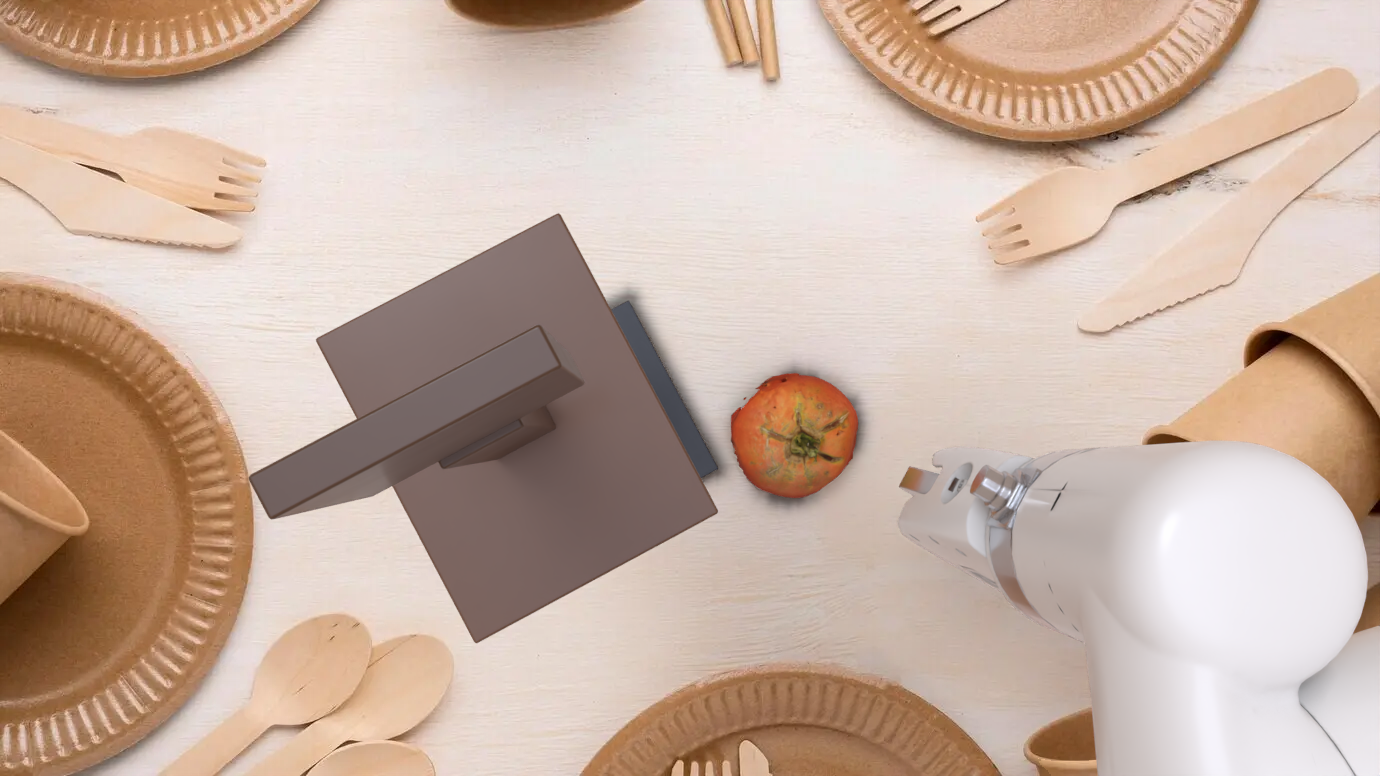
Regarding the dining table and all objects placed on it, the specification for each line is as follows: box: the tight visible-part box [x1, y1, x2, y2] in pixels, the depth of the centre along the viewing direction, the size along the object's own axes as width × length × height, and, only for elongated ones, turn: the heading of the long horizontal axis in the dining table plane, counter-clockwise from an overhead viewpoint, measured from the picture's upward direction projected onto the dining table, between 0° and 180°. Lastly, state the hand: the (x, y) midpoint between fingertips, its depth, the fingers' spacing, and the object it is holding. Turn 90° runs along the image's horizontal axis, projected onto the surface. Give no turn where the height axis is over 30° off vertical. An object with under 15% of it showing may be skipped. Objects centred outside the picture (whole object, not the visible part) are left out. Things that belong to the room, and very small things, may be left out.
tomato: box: [730, 372, 859, 499], centre depth 66 cm, size 8×7×7 cm
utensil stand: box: [248, 212, 719, 644], centre depth 42 cm, size 12×12×50 cm
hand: (960, 522), depth 60 cm, fingers closed
